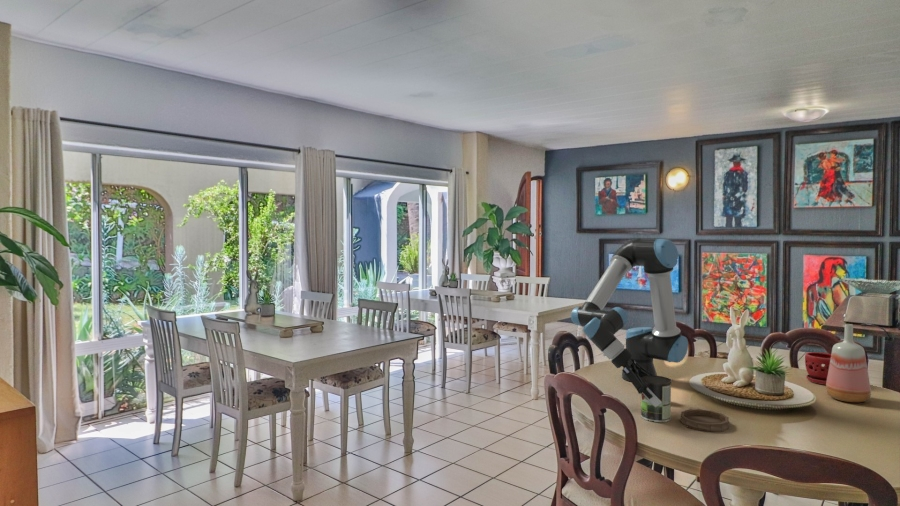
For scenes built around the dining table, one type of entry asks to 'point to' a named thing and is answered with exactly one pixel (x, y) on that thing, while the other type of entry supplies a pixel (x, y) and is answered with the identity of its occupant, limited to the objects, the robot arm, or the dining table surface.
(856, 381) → the vase
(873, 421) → the dining table surface
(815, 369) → the plant pot
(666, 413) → the coffee can
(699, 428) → the tray
